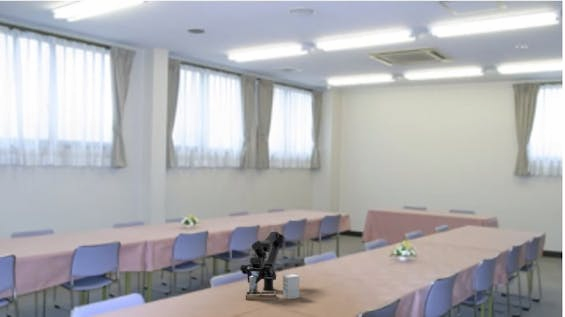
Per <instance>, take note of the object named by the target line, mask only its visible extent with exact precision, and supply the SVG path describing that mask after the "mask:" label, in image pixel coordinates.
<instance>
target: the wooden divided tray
mask: <svg viewBox="0 0 565 317" xmlns="http://www.w3.org/2000/svg"><path fill="white" fill-rule="evenodd" d="M245 300H246V301H248V300H249V301H251V300H252V301H255V300H256V301H257V300H258V301H259V300H266V301H267V300H269V301H270V300H277V293H276V291H274V290H266V291H258V294H255V295H251V294H249V291H246V292H245Z"/></svg>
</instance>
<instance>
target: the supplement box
mask: <svg viewBox="0 0 565 317" xmlns="http://www.w3.org/2000/svg"><path fill="white" fill-rule="evenodd" d="M283 297H284V298H285V299H287V300H292V299H299V298H300V275H298V274H295V273H294V274H293V273H290V274H282V298H283Z"/></svg>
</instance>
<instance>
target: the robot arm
mask: <svg viewBox="0 0 565 317" xmlns="http://www.w3.org/2000/svg"><path fill="white" fill-rule="evenodd" d="M285 243H286V237H285V236H284V235H283V234H281V233H279V232H278V231H270V233H269V235H268V236H267V237H266V238H265V239H264V240H256V241H255V242H254V243H252V245H251V248H252V251H253V254H254V255H255V257H250V259H249V264H250V265H251V266H249V265H248V264H241V265H240V267H239V270H240V271H241V273H242V274H243V275H247V283H248V284H249V276H251V275H253V274H252V272H254V273H258V275H257V276H258V277H257V280H256V283H259V282H260V281H261V280H263V287H262V289H263V291H274V290H275V288H274V281H275V280H277V273H276V270H275V267H274V266H275V263H276V260H277V257H278V254H279V251H280V249H281V248H282V247H284V245H285ZM267 253H269V255H268V256H267ZM267 257H268V258H267ZM266 259H267V261H266V262H265V260H266Z"/></svg>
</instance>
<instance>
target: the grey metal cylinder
mask: <svg viewBox="0 0 565 317" xmlns="http://www.w3.org/2000/svg"><path fill="white" fill-rule="evenodd" d="M257 277H258V275H254V274H252V275H251V276H249V283H248V292H249V294H251V295H255V294H258V292H259V291H258V290H259V289H258V288H259V287H258V283H259V282H258V283H256V280H257Z"/></svg>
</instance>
